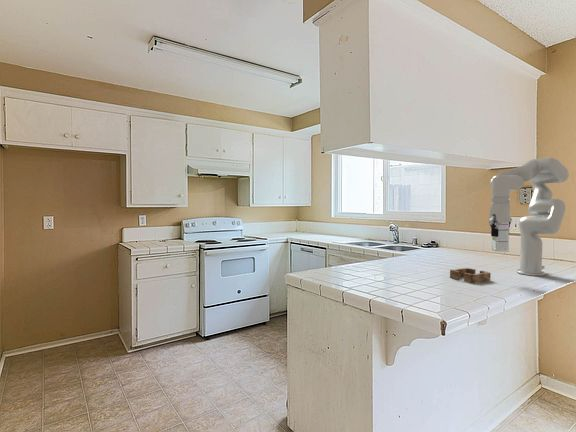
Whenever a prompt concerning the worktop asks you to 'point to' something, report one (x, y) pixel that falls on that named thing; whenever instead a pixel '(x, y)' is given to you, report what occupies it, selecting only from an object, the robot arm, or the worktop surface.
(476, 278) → the brown joined bars
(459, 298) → the worktop surface
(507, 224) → the syrup box
